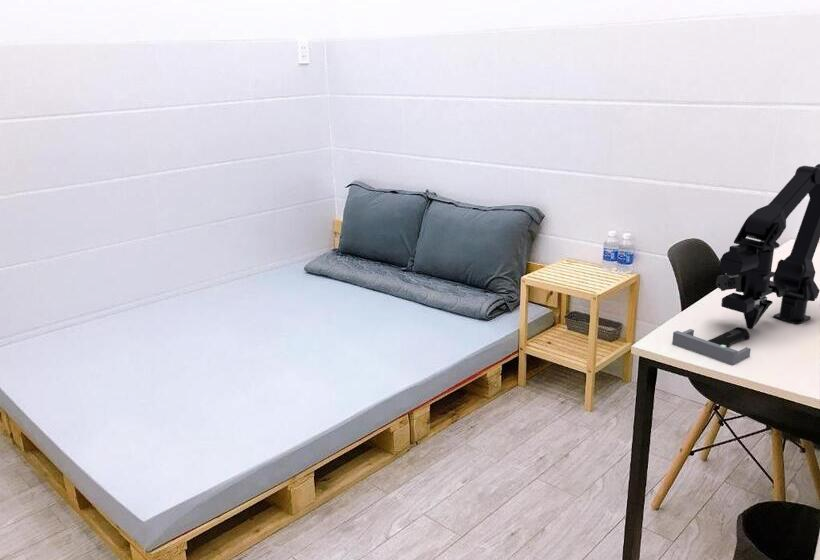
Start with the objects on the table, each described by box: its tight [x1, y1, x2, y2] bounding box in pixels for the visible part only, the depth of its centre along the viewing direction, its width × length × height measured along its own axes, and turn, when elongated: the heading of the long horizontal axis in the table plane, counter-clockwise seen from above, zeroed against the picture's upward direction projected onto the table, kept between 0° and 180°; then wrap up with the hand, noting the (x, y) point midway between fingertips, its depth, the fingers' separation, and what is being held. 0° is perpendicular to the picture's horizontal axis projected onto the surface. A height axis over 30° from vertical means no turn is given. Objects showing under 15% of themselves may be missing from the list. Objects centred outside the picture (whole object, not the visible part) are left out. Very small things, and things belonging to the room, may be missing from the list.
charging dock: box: [671, 328, 752, 366], centre depth 156 cm, size 7×15×3 cm, turn 36°
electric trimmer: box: [707, 326, 751, 348], centre depth 159 cm, size 4×16×3 cm, turn 123°
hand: (750, 328), depth 166 cm, fingers closed
